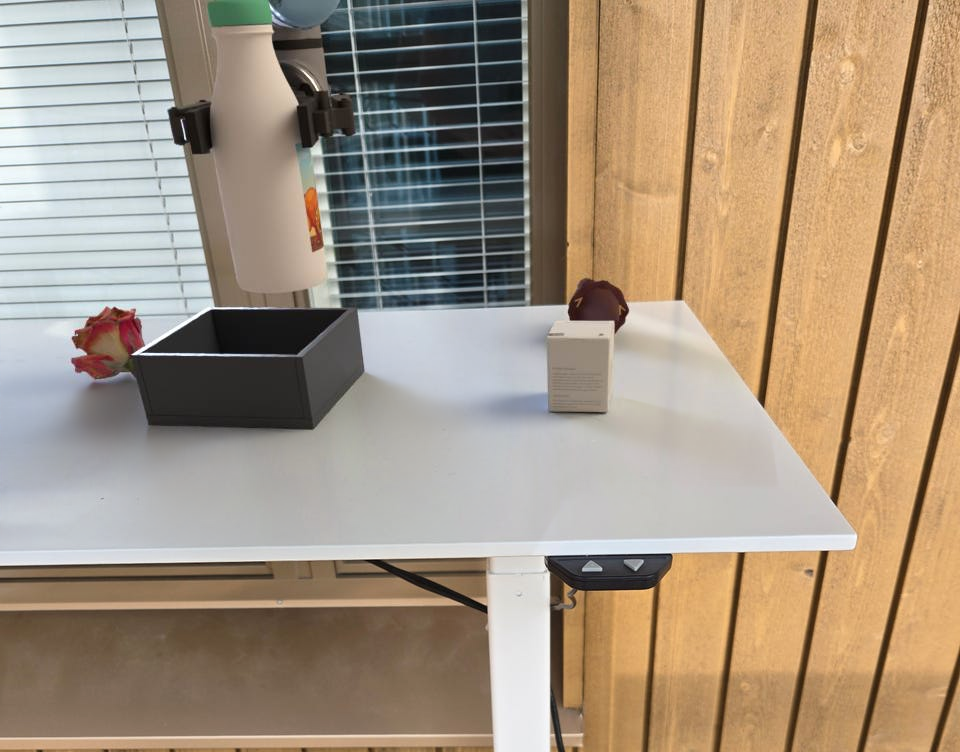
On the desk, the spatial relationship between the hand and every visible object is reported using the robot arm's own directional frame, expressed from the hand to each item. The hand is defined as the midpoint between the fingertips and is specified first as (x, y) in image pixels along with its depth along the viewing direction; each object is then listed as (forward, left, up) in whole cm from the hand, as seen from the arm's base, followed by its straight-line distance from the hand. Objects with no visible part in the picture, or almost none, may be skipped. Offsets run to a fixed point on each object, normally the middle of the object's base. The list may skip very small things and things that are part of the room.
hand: (249, 130), depth 66 cm
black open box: (-10, +16, -26) cm, 32 cm away
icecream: (+24, +38, -26) cm, 52 cm away
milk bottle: (-1, +5, -12) cm, 13 cm away
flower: (-30, +21, -26) cm, 45 cm away
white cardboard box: (+24, +16, -26) cm, 39 cm away
